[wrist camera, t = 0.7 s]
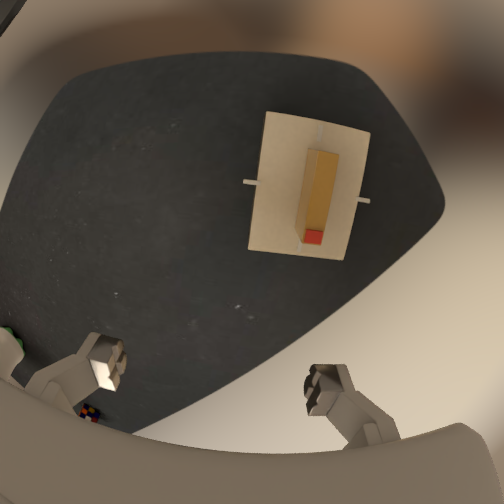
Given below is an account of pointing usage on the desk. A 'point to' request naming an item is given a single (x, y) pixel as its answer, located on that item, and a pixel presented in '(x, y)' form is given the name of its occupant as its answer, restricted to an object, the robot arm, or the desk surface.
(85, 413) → the rubik's cube
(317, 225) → the yellow slab
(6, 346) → the cup
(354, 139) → the tan block
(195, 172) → the desk surface
